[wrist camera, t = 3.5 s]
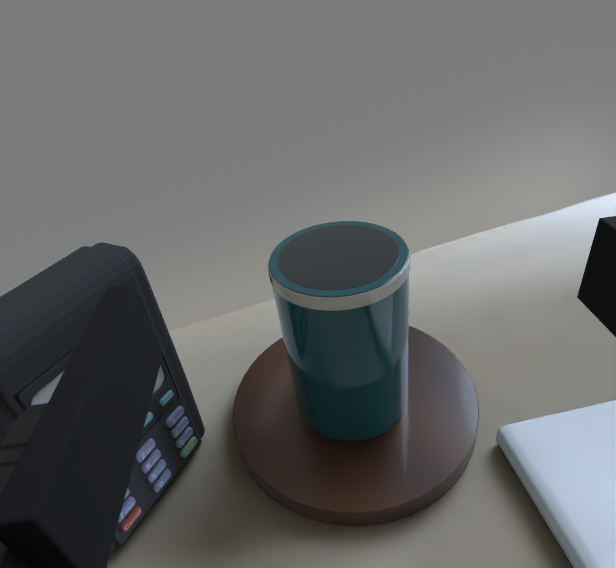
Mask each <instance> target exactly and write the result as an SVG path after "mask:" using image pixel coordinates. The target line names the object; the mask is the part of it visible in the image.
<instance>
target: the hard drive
mask: <svg viewBox="0 0 616 568" xmlns="http://www.w3.org/2000/svg"><path fill="white" fill-rule="evenodd" d="M496 441H497V443H498V444H499V446H500V448H501V449H502V451H503V453H504V454H505V456H506V457H507V459H508V461H509V463H510V464H511V466H512V467H513V469H514V471H515V472H516V474H517V476H518V477H519V479H520V481H521V482H522V484H523V485H524V487H525V489H526V490H527V492H528V494H529V495H530V497H531V499H532V500H533V502H534V504H535V505H536V507H537V509H538V510H539V512H540V513H541V515H542V517H543V519H544V520H545V522H546V523H547V525H548V527H549V528H550V530H551V532H552V533H553V535H554V536H555V538H556V540H557V541H558V543H559V545H560V546H561V548H562V549H563V551H564V553H565V555H566V556H567V558H568V560H569V561H570V563H571V565H572V566H573V568H616V400H613V401H609V402H605V403H600V404H596V405H591V406H587V407H583V408H579V409H574V410H570V411H565V412H561V413H557V414H551V415H547V416H543V417H539V418H534V419H530V420H525V421H521V422H517V423H512V424H509V425H505V426H503V427H500V428H499V429H498V433H497V436H496Z"/></svg>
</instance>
